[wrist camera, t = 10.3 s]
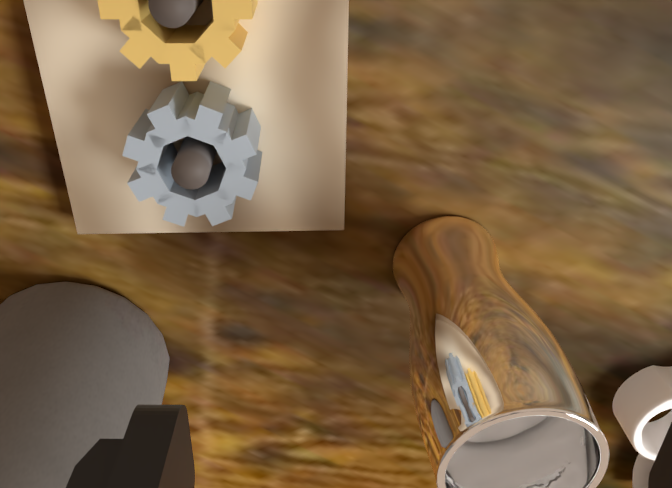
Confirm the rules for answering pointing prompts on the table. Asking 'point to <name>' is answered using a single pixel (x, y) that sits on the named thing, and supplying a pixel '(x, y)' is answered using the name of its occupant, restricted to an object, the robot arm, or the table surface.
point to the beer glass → (489, 370)
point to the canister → (71, 377)
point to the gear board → (240, 76)
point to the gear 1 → (180, 36)
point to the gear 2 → (207, 126)
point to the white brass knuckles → (644, 416)
